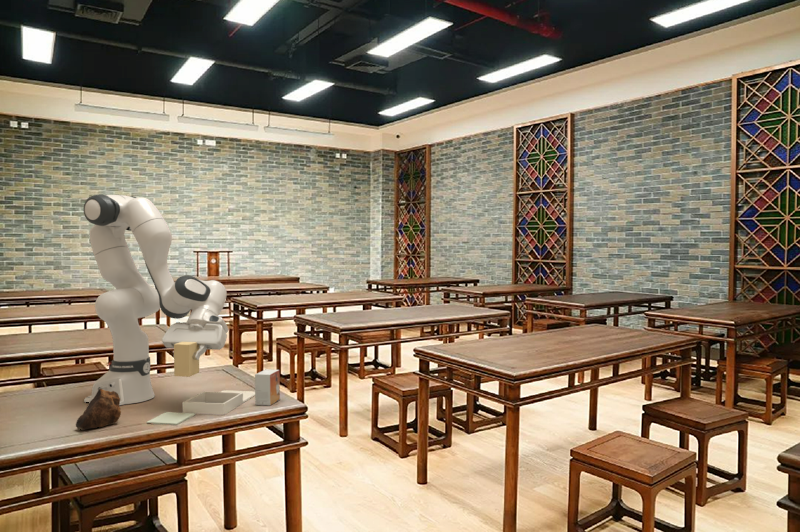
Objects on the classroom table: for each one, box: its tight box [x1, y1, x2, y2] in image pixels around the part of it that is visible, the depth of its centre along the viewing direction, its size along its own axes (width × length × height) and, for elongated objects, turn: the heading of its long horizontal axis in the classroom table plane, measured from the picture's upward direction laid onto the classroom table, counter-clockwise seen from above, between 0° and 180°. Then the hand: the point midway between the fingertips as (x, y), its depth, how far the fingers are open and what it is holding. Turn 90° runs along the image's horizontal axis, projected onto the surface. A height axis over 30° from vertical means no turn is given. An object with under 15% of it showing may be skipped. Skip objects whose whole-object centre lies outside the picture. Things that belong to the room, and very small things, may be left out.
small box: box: [254, 368, 281, 406], centre depth 185 cm, size 8×6×10 cm
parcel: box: [173, 342, 200, 378], centre depth 171 cm, size 5×6×10 cm
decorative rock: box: [75, 389, 122, 431], centre depth 161 cm, size 12×6×11 cm, turn 138°
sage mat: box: [146, 411, 196, 426], centre depth 167 cm, size 10×10×1 cm
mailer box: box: [182, 389, 255, 416], centre depth 185 cm, size 14×26×4 cm, turn 170°
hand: (185, 358), depth 171 cm, fingers closed on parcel, 5 cm apart
